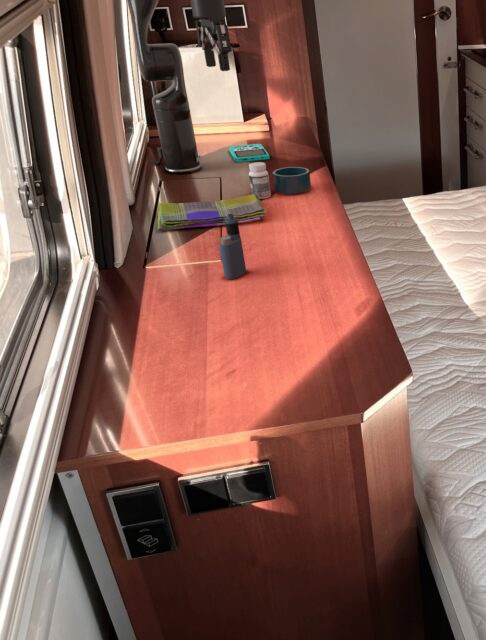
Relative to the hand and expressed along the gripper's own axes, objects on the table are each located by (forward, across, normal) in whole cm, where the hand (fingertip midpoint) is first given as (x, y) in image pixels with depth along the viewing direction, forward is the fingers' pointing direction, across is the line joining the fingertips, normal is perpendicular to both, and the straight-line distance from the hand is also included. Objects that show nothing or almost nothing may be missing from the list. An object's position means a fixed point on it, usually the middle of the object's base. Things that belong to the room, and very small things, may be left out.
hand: (218, 68), depth 199 cm
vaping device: (+30, -57, +25) cm, 69 cm away
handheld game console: (+30, +33, -18) cm, 48 cm away
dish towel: (+30, -18, +14) cm, 38 cm away
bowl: (+30, -10, -11) cm, 34 cm away
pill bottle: (+30, -10, -2) cm, 32 cm away
